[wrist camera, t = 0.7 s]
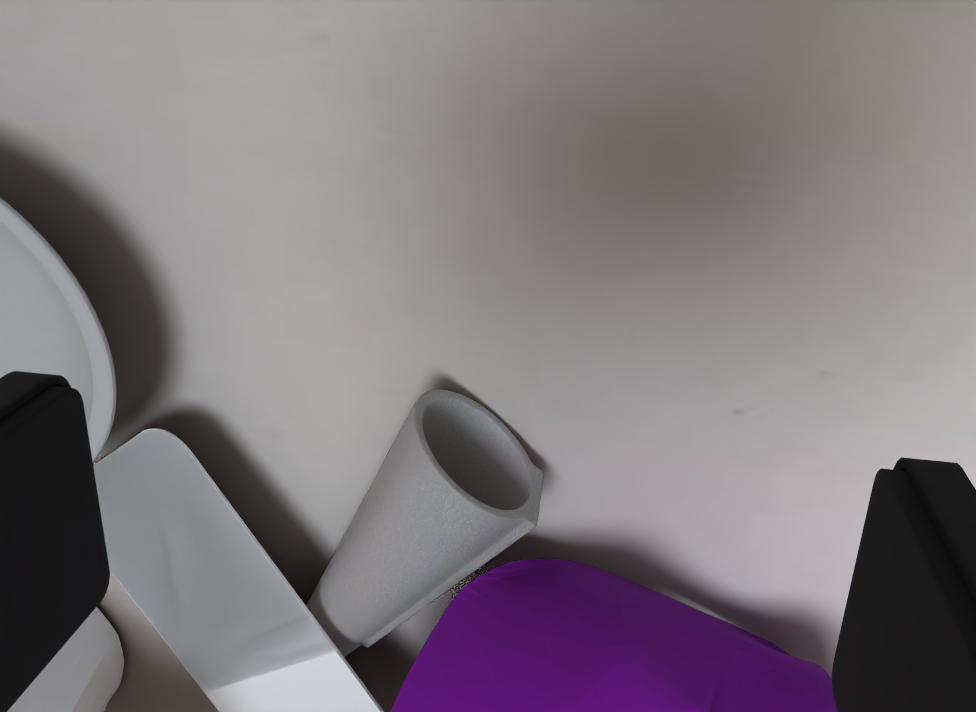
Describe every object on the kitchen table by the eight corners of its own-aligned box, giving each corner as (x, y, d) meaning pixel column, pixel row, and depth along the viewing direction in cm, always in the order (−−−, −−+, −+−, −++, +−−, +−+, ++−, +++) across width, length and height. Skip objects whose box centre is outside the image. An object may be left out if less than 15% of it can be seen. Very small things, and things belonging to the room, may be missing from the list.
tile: (160, 418, 37) (168, 413, 38) (51, 494, 44) (58, 489, 44) (440, 796, 40) (445, 788, 40) (298, 815, 46) (303, 808, 47)
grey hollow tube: (197, 593, 46) (429, 363, 37) (300, 658, 48) (547, 454, 39) (147, 688, 42) (399, 451, 33) (264, 757, 43) (535, 549, 34)
